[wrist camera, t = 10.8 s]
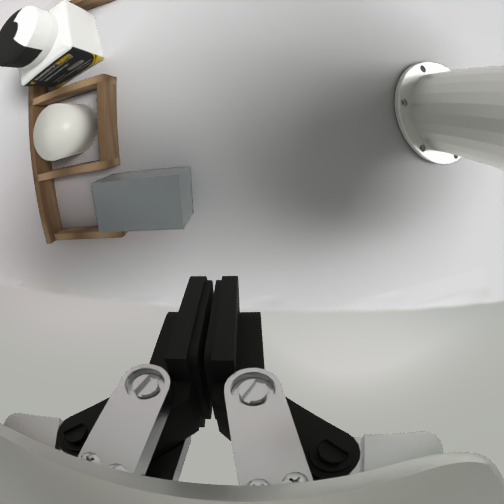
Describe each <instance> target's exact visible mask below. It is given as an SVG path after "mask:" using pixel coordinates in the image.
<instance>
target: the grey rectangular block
mask: <svg viewBox="0 0 504 504" xmlns="http://www.w3.org/2000/svg"><path fill="white" fill-rule="evenodd" d="M91 187H92V194H93V200H94V207H95V212H96V218H97V223H98V228H99V232H118V231H141V230H168V229H184V227H185V226H186V224H187V222H188V221H189V219H190V217H191V216H192V214H193V201H192V187H191V171H190V167H177V168H164V169H153V170H143V171H134V172H125V173H117V174H112V175H110V176H107V177H105V178H103V179H100V180H98V181H96V182H94V183H91Z"/></svg>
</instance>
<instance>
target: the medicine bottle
mask: <svg viewBox="0 0 504 504" xmlns="http://www.w3.org/2000/svg"><path fill="white" fill-rule="evenodd" d="M103 58H104V55H103V51H102V47H101V42H100V38H99V33H98V28H97V23H96V18H95V16H94V15H92V14H91V13H89V12H87V11H85V10H83V9H82V8H80V7H78V6H76V5H74V4H72V3H70V2H69V1H67V0H63V1H61V2H60V3H59V4H57V5H56V6H54V7H53V8H52V9H51V10H49V11H48V12H47V11H44V10H42V9H39V8H36V7H33V6H26V7H24V8H22V9H20V10H18V11H17V12H15V13H14V14H13V15H12V16H11V17H10V18H9V19H8V20H7V21H6V23H5V24H4V26H3V27H2V29H1V31H0V66H2V67H16V68H19V71H20V78H21V84H22V86H37V87H53V88H59V87H61V86H62V85H63V84H65V83H66V82H68V81H69V80H71V79H72V78H74V77H75V76H77V75H78V74H80V73H81V72H83V71H84V70H86V69H88V68H89V67H91V66H92V65H94V64H96V63H97V62H99V61H101V60H102V59H103Z"/></svg>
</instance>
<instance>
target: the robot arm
mask: <svg viewBox="0 0 504 504" xmlns="http://www.w3.org/2000/svg"><path fill="white" fill-rule="evenodd" d="M401 102H402V103H401ZM395 112H396V117H397V121H398V125H399V127H400V130H401V132H402V134H403V136H404V138H405V139H406V141H407V143H408V144H409V145H410V147H411V148H412V149H413V150H414V151H415V152H416V153H417V154H418V155H419V156H420V157H422V158H424V159H426V160H427V161H430V162H433V163H437V164H451V163H453V162H456V161H457V160H459V159H460V158H462V157H464V158H467V159H471V160H474V161H477V162H481V163H484V164H487V165H490V166H493V167H496V168H499V169H502V170H504V66H490V67H477V68H468V69H459V70H452V71H451V70H449V69H448V68H447V67H445V66H443V65H441V64H438V63H435V62H421V63H417V64H414V65H412V66H410V67H409V68H408V69H406V70H405V71H404V73H403V74H402V75H401V77H400V79H399V81H398V83H397V87H396V91H395ZM261 329H262V328H261V314H260V312H240V311H239V287H238V276H222V280H216V285H215V291H214V292H213V282H212V280H207V278H206V276H191V277H190V279H189V282H188V285H187V288H186V291H185V294H184V297H183V300H182V303H181V306H180V309H179V312H168V314H167V315H166V318H165V321H164V324H163V326H162V329H161V332H160V335H159V337H158V340H157V343H156V346H155V349H154V352H153V355H152V358H151V360H150V364H143V365H138V366H135V367H133V368H131V369H130V370H128V371H127V372H126V373H125V374H124V375H123V376H122V378H121V379H120V381H119V383H118V385H117V386H116V388H115V390H114V391H113V393H112V395H111V397H109V398H107V399H105V400H104V401H102V402H100V403H98V404H96V405H94V406H92V407H90V408H87V409H85V410H84V411H82V412H79V413H77V414H75V415H73V416H71V417H69V418H68V419H66V420H64V421H62V420H61V419H60V418H53V417H43V416H35V415H29V414H22V413H14V414H12V415H10V416H9V417H8V418H7V419H6V421H5V423H4V425H2V424H0V504H504V479H503V477H502V475H501V473H500V472H499V470H498V469H497V467H496V466H495V464H494V463H493V462H492V461H491V460H490V459H488V458H487V457H485V456H483V455H480V454H476V453H469V452H451V453H443V448H442V444H441V441H440V440H439V438H438V437H437V436H436V435H434V434H432V433H430V432H423V431H421V432H411V433H399V434H375V435H364V436H363V437H352V436H351V435H349V434H348V433H346V432H344V431H342V430H340V429H339V428H337V427H335V426H333V425H332V424H330V423H328V422H326V421H324V420H323V419H321V418H319V417H318V416H316V415H314V414H313V413H311V412H309V411H308V410H306V409H304V408H302V407H301V406H299V405H298V404H296V403H295V402H293V401H291V400H290V399H288V398H287V397H285V394H284V391H283V388H282V385H281V383H280V381H279V379H278V378H277V377H276V376H275V375H274V374H273V373H271V372H269V371H267V370H265V369H264V357H263V342H262V330H261ZM212 406H213V411H214V415H215V419H217V422H218V427H219V431H220V432H221V433H222V434H223V435H224V436H226V437H227V438H228V439H229V440H230V441H231V442H232V448H233V454H234V460H235V466H236V472H237V477H238V483H239V486H233V485H211V484H198V483H188V482H179V481H178V480H179V477H180V474H181V471H182V468H183V464H184V461H185V458H186V455H187V452H188V448H189V445H190V442H191V435H192V434H194V433H196V432H197V431H199V427H205V419H211V413H212Z"/></svg>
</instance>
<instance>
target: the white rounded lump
mask: <svg viewBox="0 0 504 504" xmlns="http://www.w3.org/2000/svg"><path fill="white" fill-rule="evenodd" d="M97 131H98V125H97V116H96V114H95V112H94V110H93V109H92V108H91V107H89V106H88V105H85V104H65V103H56V104H51V105H49V106H47V107H46V108H45V109H44V110H43V111H42V112H41V113H40V115H39V116H38V118H37V120H36V123H35V126H34V131H33V141H34V146H35V149H36V151H37V153H38V154H39V155H40V156H41V157H42V158H43V159H45V160H48V161H55V160H58V159H62V158H65V157H69V156H73V155H76V154H80V153H83V152H85V151H86V150H88V149H89V148H90V147H91V145H92V144H93V142H94V141H95V138H96V135H97Z"/></svg>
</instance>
